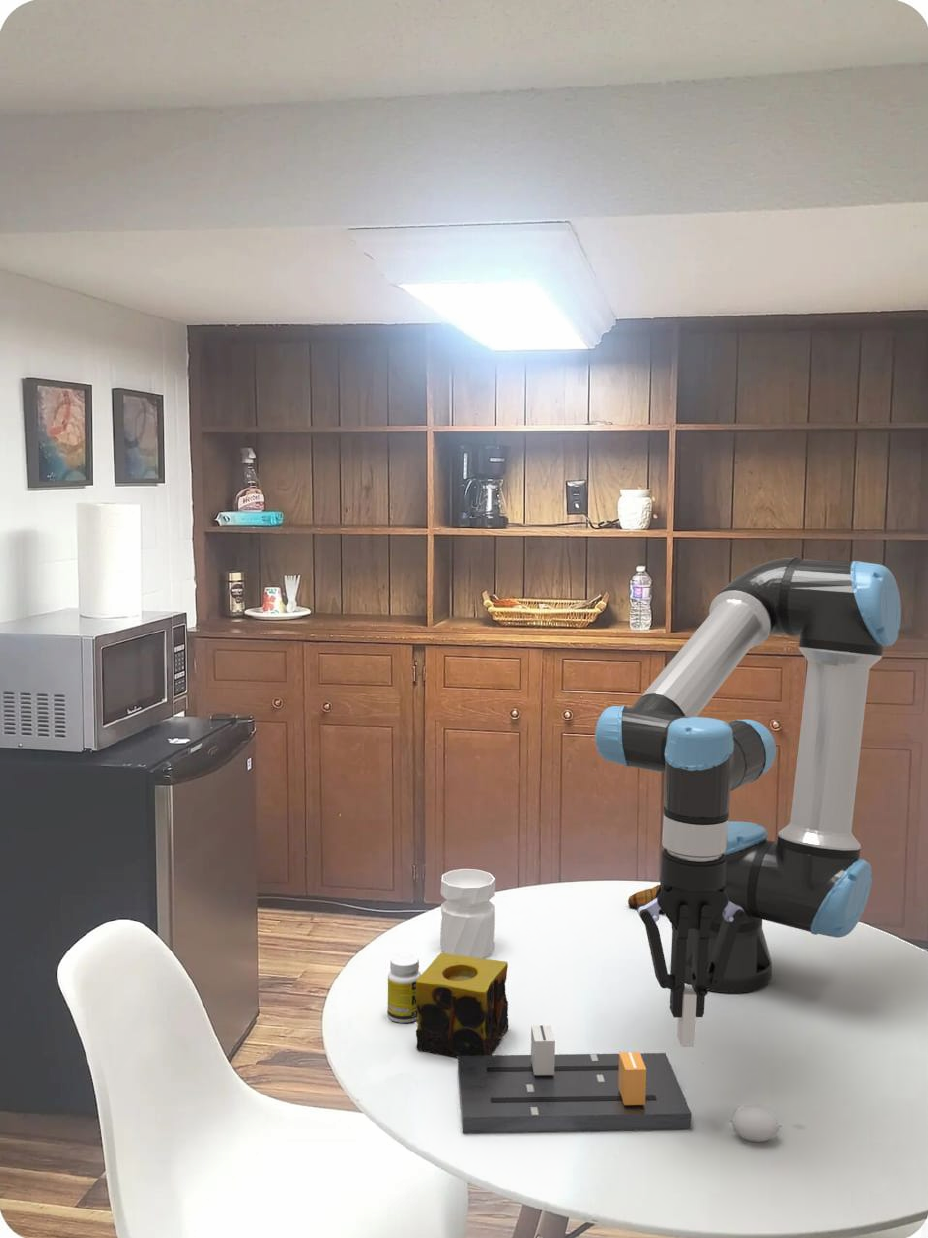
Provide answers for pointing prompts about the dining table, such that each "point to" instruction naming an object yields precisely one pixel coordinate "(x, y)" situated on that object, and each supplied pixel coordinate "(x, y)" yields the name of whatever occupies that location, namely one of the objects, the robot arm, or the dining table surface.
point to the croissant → (643, 897)
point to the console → (566, 1095)
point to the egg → (755, 1123)
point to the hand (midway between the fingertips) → (685, 1041)
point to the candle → (461, 1006)
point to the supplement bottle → (403, 988)
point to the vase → (467, 913)
